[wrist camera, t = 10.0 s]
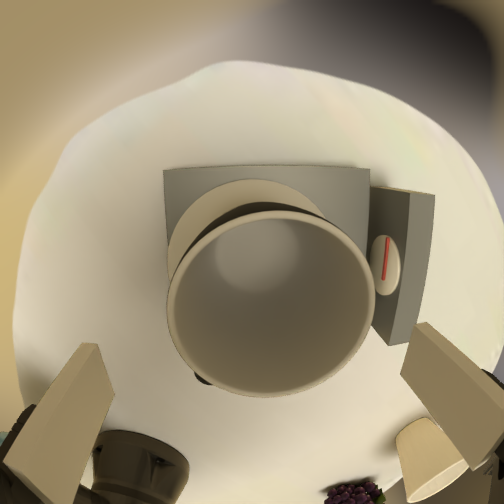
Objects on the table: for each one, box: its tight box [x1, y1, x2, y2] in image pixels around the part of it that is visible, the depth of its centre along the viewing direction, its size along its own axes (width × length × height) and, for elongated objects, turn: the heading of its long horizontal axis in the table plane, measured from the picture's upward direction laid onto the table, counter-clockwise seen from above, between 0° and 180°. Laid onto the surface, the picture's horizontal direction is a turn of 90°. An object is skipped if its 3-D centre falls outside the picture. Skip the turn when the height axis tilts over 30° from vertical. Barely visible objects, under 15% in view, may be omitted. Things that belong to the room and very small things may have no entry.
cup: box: [395, 418, 469, 503], centre depth 29 cm, size 12×12×12 cm
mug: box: [167, 202, 375, 398], centre depth 16 cm, size 12×9×10 cm
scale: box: [163, 165, 435, 346], centre depth 22 cm, size 19×15×7 cm
